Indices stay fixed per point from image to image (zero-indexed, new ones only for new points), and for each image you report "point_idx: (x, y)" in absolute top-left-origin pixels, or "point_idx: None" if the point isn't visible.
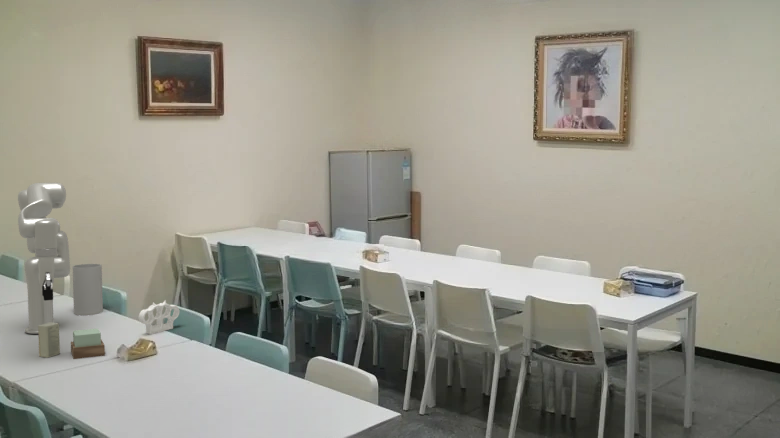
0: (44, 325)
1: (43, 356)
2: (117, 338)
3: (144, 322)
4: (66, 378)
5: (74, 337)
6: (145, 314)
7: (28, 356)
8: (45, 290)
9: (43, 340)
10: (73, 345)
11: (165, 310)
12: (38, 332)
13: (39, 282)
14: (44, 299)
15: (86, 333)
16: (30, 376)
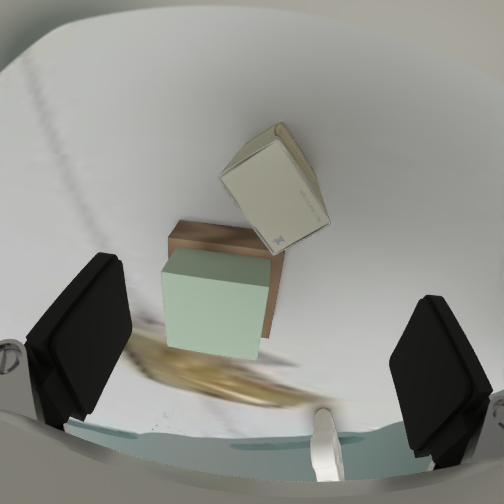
0: (251, 172)
1: (260, 134)
2: (366, 366)
3: (312, 438)
4: (8, 173)
5: (198, 268)
6: (311, 457)
7: (310, 88)
8: (42, 350)
9: (249, 146)
10: (213, 247)
11: (341, 474)
12: (279, 134)
13: (11, 445)
14: (96, 260)
15: (183, 313)
16: (44, 86)
